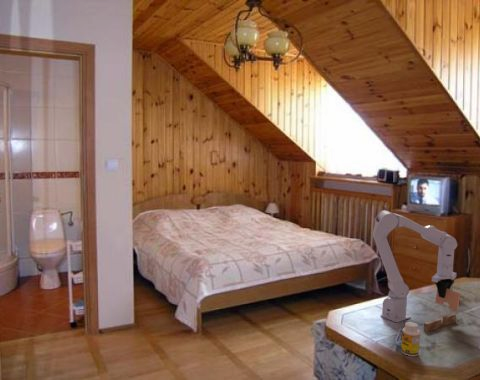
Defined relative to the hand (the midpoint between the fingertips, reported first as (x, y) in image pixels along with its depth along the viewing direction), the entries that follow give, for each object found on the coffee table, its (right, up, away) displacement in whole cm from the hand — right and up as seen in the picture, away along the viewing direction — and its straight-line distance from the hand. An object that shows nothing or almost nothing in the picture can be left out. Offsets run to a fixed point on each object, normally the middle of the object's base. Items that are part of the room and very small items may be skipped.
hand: (442, 296), depth 178 cm
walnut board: (-4, -10, -6) cm, 12 cm away
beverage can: (+16, -7, +33) cm, 37 cm away
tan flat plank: (+1, -3, -1) cm, 4 cm away
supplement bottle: (-25, -12, -30) cm, 41 cm away
